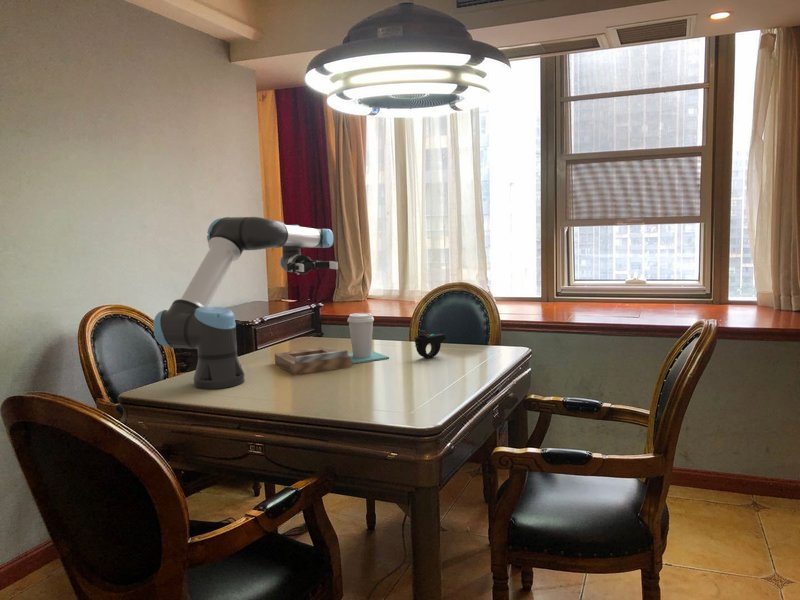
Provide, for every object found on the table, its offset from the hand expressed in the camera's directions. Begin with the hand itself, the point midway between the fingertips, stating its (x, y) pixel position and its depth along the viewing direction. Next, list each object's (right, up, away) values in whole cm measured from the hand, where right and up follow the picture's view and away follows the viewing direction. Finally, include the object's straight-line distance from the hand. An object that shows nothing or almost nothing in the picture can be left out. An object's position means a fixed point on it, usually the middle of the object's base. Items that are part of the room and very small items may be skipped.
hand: (320, 266), depth 236 cm
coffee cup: (+16, -32, -9) cm, 37 cm away
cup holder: (0, -35, -18) cm, 39 cm away
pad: (+16, -33, -9) cm, 38 cm away
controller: (+40, -33, -11) cm, 53 cm away
